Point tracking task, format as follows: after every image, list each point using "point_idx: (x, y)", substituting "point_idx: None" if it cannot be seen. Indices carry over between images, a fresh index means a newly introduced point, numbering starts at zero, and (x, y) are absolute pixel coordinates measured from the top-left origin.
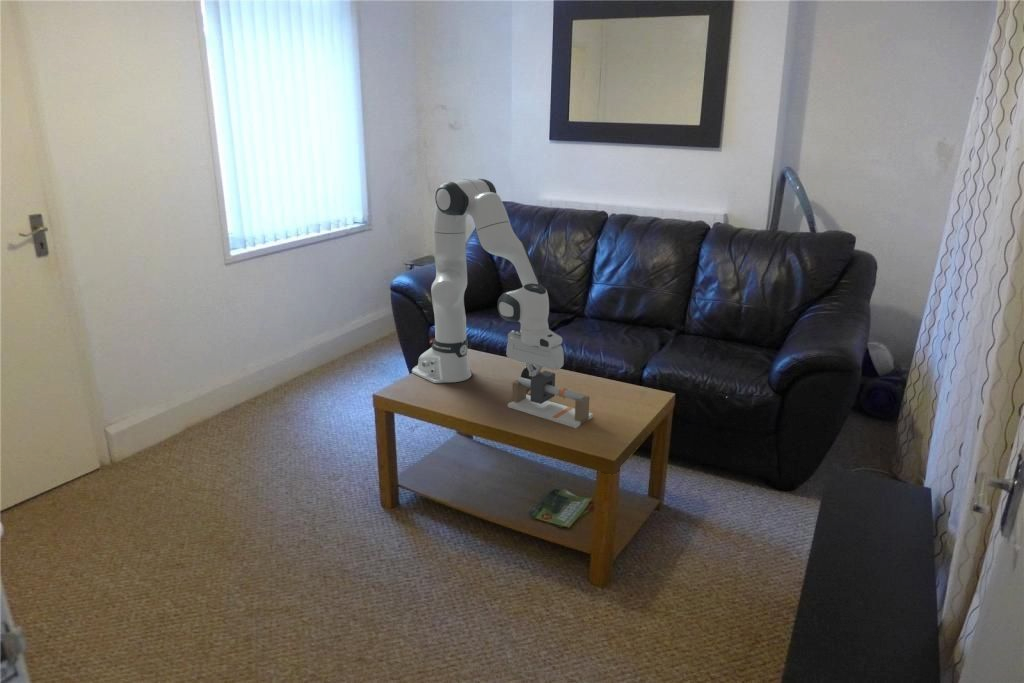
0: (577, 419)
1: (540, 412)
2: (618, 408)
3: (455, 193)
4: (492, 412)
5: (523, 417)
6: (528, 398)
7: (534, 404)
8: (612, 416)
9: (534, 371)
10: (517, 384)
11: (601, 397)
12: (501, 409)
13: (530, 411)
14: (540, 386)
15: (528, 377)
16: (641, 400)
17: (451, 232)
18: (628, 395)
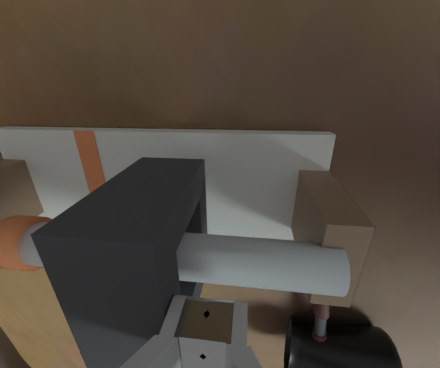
0: (8, 161)
1: (157, 143)
2: (49, 298)
3: None
4: (377, 23)
5: (207, 80)
6: (280, 229)
7: (226, 195)
8: None
9: (196, 353)
10: (325, 220)
11: None
12: (347, 90)
13: (201, 131)
14: (81, 203)
15: (358, 352)
16: (53, 347)
17: None
18: None
